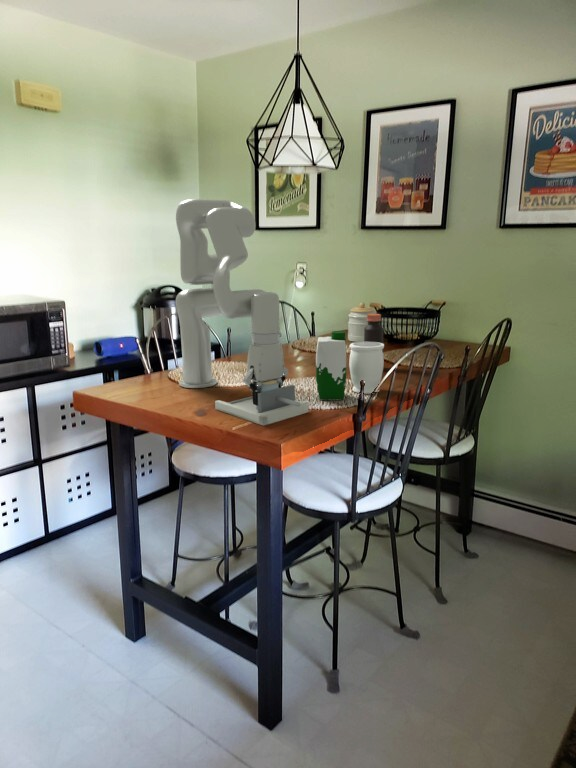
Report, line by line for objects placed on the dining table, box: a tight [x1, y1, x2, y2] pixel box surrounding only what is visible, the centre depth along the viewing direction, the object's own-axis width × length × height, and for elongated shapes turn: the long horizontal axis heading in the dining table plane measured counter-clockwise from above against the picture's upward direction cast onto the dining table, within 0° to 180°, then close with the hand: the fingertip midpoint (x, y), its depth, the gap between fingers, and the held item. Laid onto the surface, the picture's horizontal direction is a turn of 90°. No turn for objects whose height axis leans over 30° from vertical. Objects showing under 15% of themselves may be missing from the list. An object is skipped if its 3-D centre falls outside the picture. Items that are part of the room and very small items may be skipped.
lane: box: [214, 395, 309, 426], centre depth 160 cm, size 21×16×3 cm
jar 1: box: [347, 302, 375, 343], centre depth 266 cm, size 13×13×18 cm
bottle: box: [364, 313, 384, 353], centre depth 206 cm, size 7×7×20 cm
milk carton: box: [315, 330, 347, 400], centre depth 170 cm, size 9×9×20 cm
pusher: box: [258, 384, 301, 413], centre depth 151 cm, size 9×12×6 cm
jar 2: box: [348, 342, 385, 395], centre depth 177 cm, size 11×10×15 cm
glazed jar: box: [256, 379, 279, 410], centre depth 157 cm, size 6×6×8 cm
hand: (267, 401), depth 157 cm, fingers closed on glazed jar, 6 cm apart
